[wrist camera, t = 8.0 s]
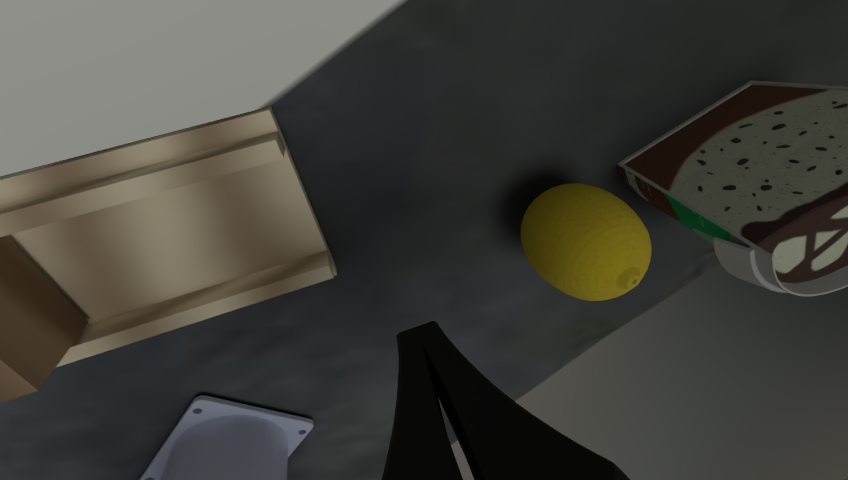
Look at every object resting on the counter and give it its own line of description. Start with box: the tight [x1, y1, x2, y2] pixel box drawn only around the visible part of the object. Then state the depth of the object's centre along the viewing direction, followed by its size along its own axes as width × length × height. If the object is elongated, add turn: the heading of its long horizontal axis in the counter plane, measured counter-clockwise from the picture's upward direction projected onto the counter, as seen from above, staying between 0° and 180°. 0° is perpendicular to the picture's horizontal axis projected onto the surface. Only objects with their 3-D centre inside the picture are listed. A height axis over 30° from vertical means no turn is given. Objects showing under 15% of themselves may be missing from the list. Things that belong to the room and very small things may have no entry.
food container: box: [617, 80, 848, 296], centre depth 20 cm, size 12×6×10 cm, turn 119°
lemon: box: [521, 183, 651, 301], centre depth 20 cm, size 6×6×8 cm
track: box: [0, 106, 337, 367], centre depth 16 cm, size 18×9×5 cm, turn 102°
